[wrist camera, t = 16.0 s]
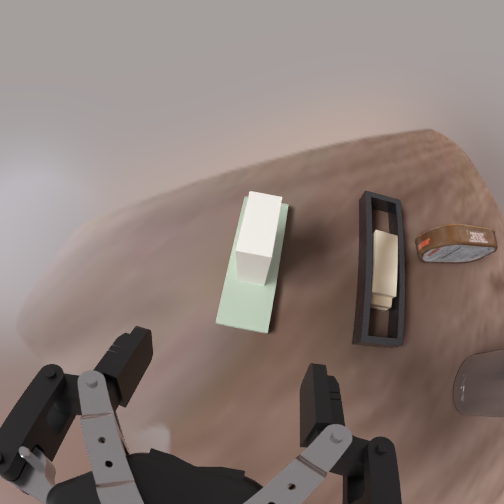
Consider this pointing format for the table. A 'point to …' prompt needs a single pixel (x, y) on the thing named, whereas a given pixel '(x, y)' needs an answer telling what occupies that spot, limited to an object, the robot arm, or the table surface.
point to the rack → (365, 273)
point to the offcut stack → (384, 270)
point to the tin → (455, 243)
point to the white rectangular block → (257, 237)
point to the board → (251, 287)
